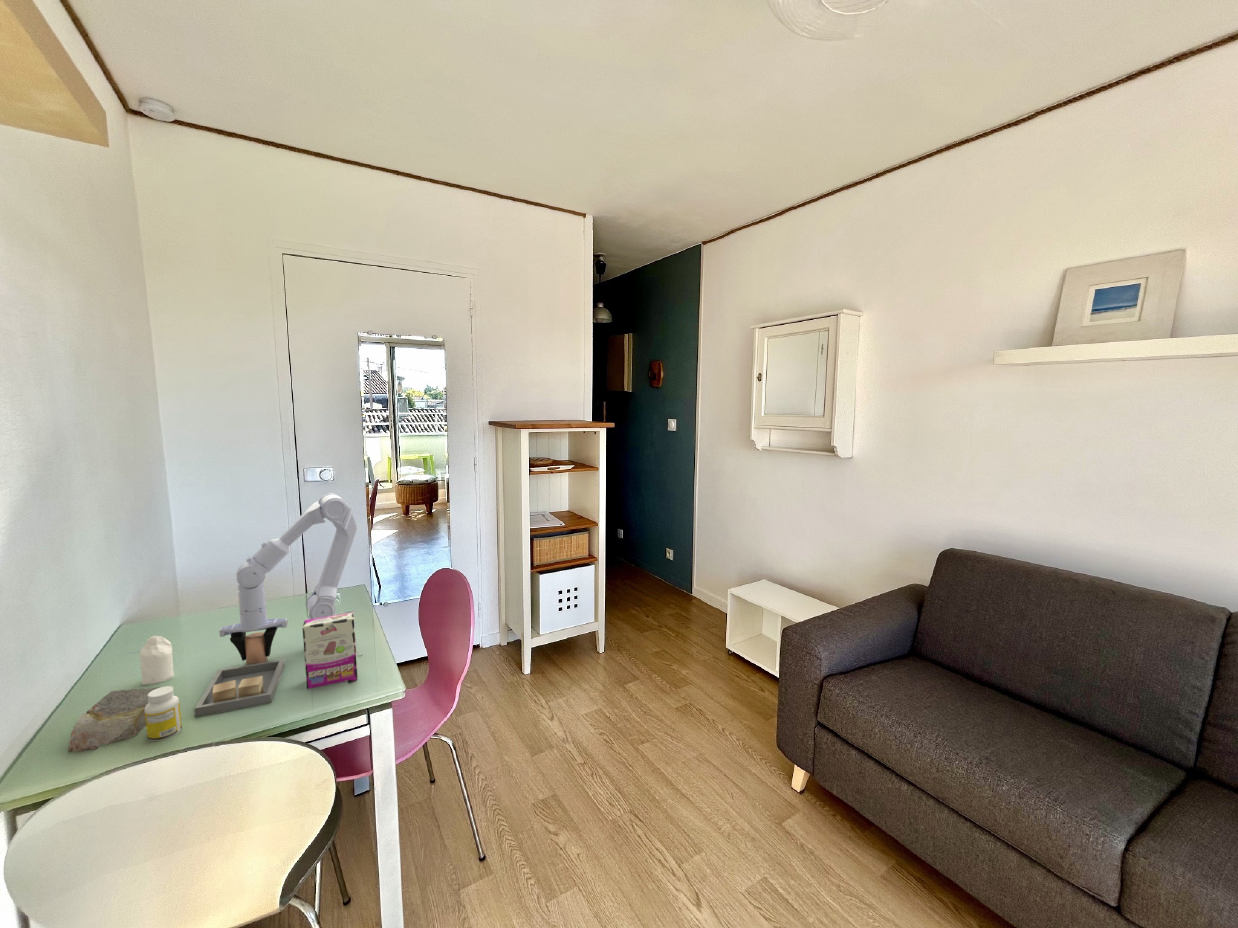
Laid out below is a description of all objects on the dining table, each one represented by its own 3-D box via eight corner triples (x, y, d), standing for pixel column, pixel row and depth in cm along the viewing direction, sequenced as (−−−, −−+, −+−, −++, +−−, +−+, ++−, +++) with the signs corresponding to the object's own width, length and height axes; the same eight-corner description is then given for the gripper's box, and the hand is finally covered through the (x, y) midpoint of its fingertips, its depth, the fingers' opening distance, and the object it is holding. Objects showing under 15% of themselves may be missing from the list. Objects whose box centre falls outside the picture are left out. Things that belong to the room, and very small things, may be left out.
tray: (284, 668, 134) (284, 658, 134) (271, 704, 118) (270, 694, 118) (219, 679, 129) (218, 669, 128) (195, 719, 112) (194, 708, 112)
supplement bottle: (161, 727, 109) (157, 684, 108) (188, 726, 110) (184, 683, 109) (140, 744, 104) (135, 698, 103) (168, 742, 105) (164, 697, 103)
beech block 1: (236, 695, 120) (235, 679, 120) (235, 704, 117) (234, 687, 117) (215, 701, 118) (213, 684, 118) (213, 709, 115) (212, 693, 114)
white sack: (165, 627, 130) (174, 632, 128) (169, 671, 132) (178, 678, 129) (134, 636, 125) (142, 642, 122) (138, 682, 127) (147, 689, 124)
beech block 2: (263, 691, 122) (262, 675, 122) (260, 700, 119) (258, 684, 118) (243, 695, 121) (242, 679, 120) (239, 704, 117) (237, 687, 117)
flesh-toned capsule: (269, 659, 139) (267, 631, 138) (265, 667, 135) (263, 638, 134) (248, 662, 137) (246, 633, 136) (244, 670, 133) (242, 641, 132)
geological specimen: (170, 682, 118) (131, 717, 104) (171, 708, 119) (132, 746, 104) (112, 688, 115) (63, 724, 101) (113, 714, 115) (64, 754, 101)
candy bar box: (357, 671, 133) (354, 611, 131) (357, 680, 129) (354, 618, 127) (307, 681, 128) (303, 618, 126) (306, 691, 124) (302, 626, 122)
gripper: (288, 598, 141) (291, 645, 142) (223, 606, 135) (227, 655, 136) (283, 607, 134) (286, 656, 136) (215, 616, 128) (219, 667, 130)
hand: (256, 656), depth 136 cm, fingers closed on flesh-toned capsule, 5 cm apart
